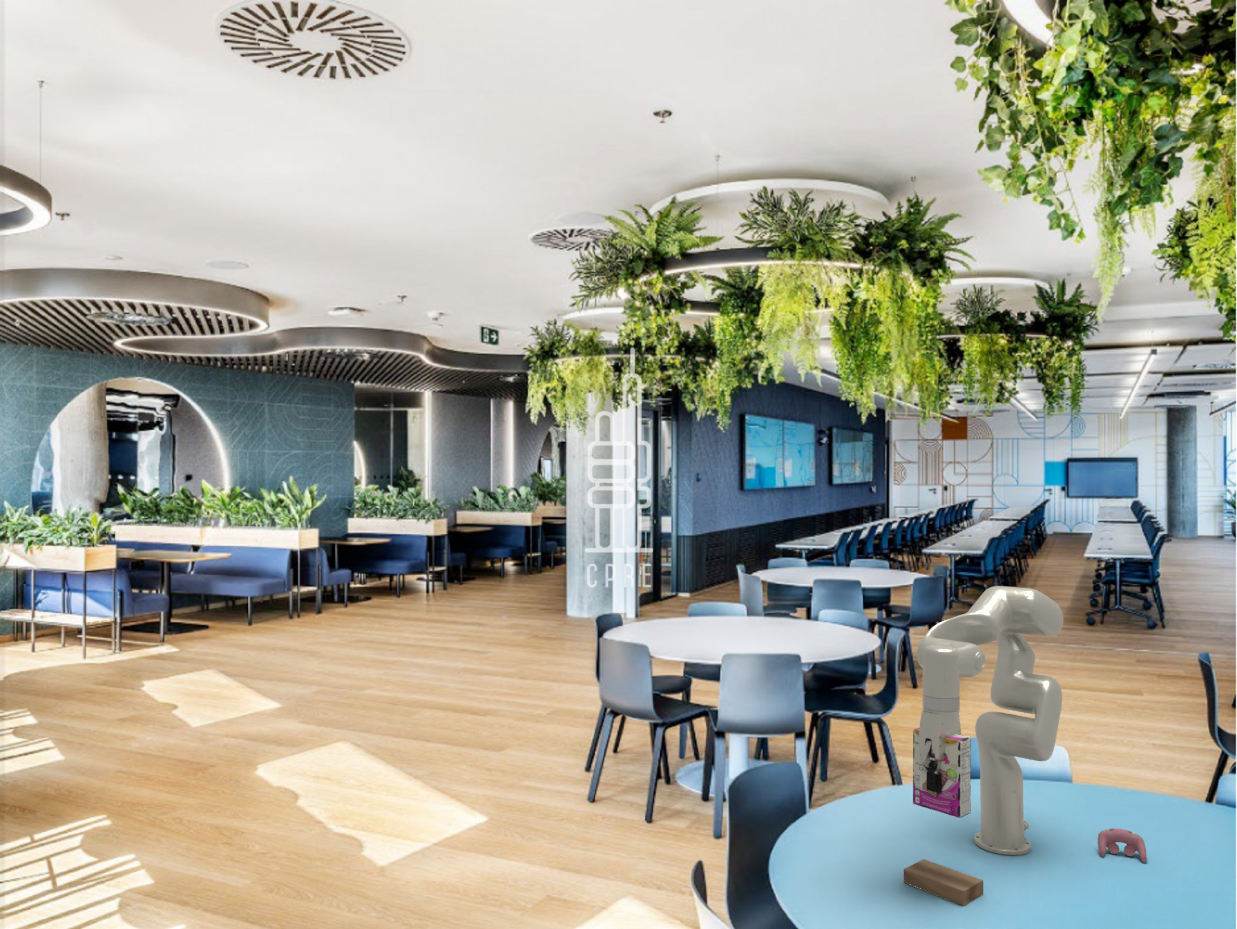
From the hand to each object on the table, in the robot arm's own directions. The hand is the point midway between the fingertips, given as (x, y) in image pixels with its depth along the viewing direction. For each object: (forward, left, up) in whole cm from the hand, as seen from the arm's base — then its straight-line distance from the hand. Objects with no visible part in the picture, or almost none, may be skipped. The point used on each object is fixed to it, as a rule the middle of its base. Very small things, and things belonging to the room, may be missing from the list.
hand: (941, 787), depth 192 cm
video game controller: (-48, +18, -22) cm, 55 cm away
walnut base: (0, 0, -22) cm, 22 cm away
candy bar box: (0, 0, -5) cm, 5 cm away
